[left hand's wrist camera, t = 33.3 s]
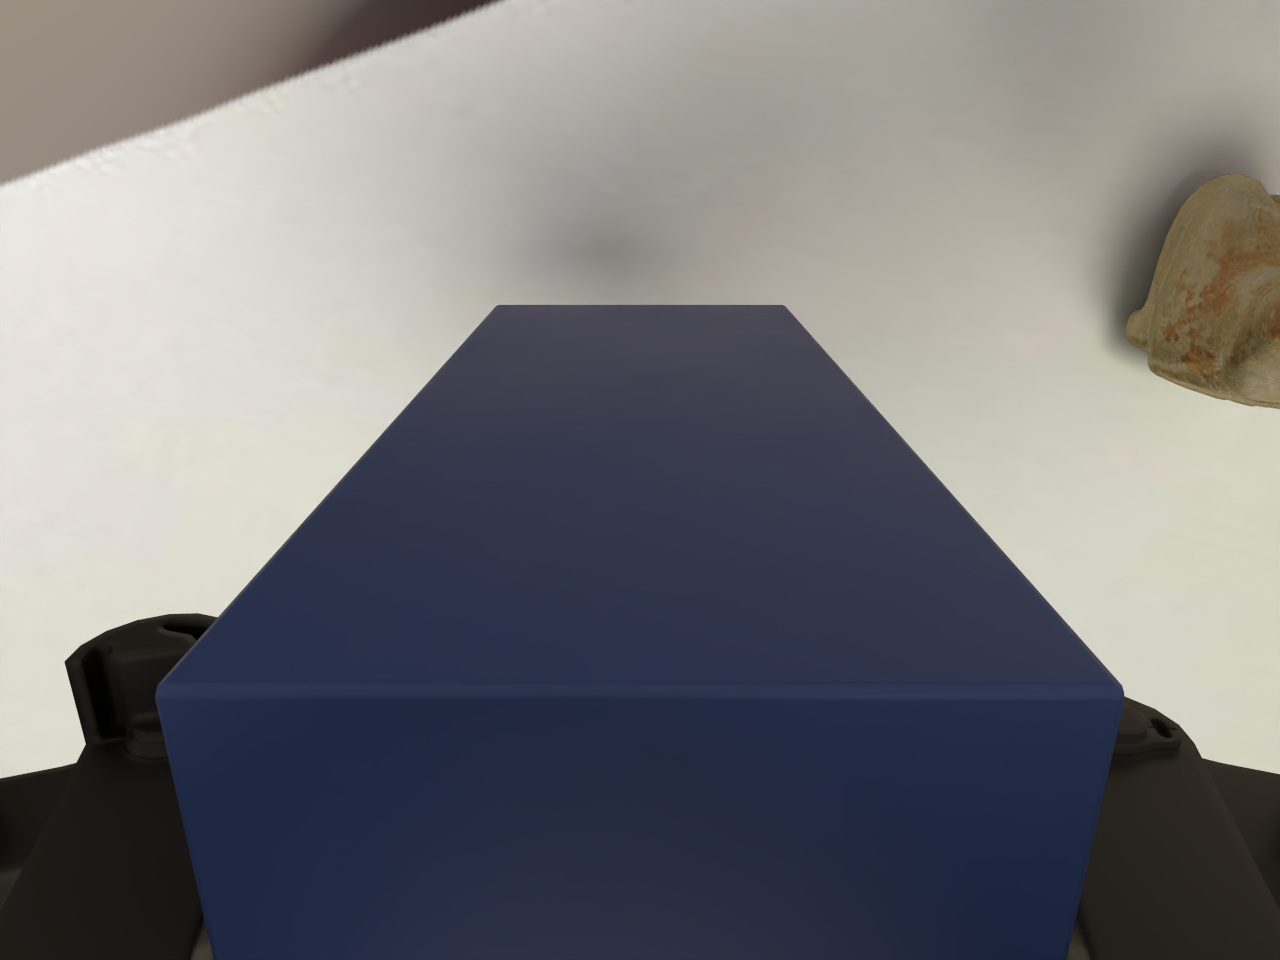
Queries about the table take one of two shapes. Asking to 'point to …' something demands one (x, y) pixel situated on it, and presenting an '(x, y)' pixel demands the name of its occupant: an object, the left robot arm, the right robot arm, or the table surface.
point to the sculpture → (1218, 296)
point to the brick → (640, 678)
